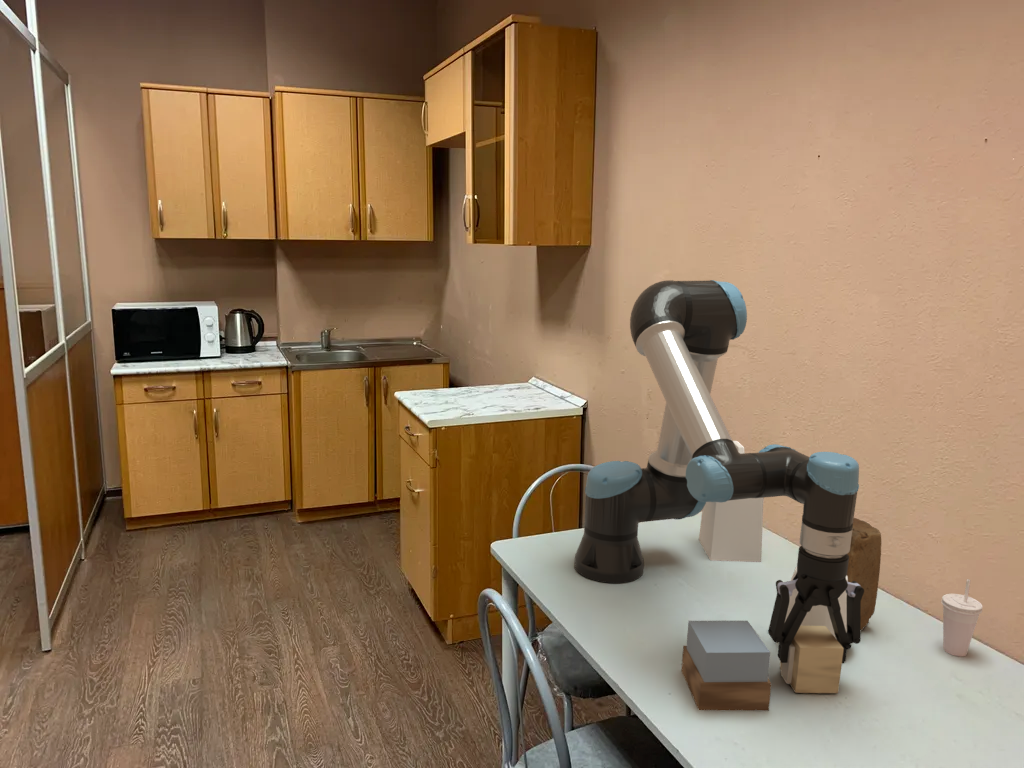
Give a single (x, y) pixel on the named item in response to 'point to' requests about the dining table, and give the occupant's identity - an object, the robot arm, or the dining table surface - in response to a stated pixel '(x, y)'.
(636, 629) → the dining table surface
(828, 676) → the oak block
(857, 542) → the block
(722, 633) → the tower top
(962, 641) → the smoothie
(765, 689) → the tower base
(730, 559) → the milk
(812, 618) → the white ceramic vase
